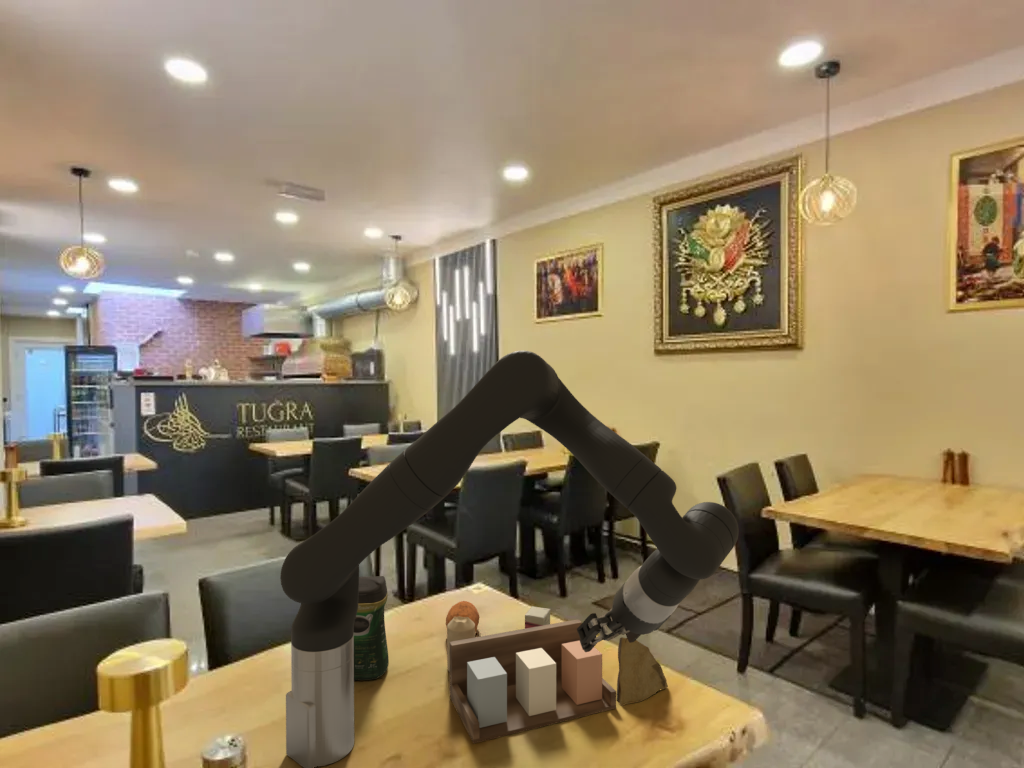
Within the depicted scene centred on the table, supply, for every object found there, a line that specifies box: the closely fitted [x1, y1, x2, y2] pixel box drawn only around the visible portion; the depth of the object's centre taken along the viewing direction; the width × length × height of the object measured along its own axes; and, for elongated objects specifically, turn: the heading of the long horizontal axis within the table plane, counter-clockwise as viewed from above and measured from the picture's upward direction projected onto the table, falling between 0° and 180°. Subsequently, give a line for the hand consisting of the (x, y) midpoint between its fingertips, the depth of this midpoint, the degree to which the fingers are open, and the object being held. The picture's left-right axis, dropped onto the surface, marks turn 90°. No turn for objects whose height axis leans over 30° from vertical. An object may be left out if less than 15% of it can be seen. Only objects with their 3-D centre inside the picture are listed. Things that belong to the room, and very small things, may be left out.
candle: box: [446, 616, 476, 673], centre depth 114 cm, size 6×6×10 cm
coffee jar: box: [354, 575, 389, 681], centre depth 113 cm, size 10×8×19 cm
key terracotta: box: [562, 641, 603, 705], centre depth 104 cm, size 6×5×8 cm
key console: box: [449, 618, 617, 744], centre depth 102 cm, size 14×26×10 cm, turn 112°
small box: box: [524, 605, 551, 629], centre depth 122 cm, size 5×4×8 cm
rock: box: [616, 636, 669, 707], centre depth 105 cm, size 11×9×10 cm
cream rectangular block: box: [516, 648, 556, 716], centre depth 101 cm, size 6×5×8 cm
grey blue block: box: [467, 657, 507, 728], centre depth 97 cm, size 6×5×8 cm
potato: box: [445, 600, 480, 634], centre depth 129 cm, size 7×13×7 cm, turn 176°
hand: (606, 641), depth 96 cm, fingers open, 8 cm apart
